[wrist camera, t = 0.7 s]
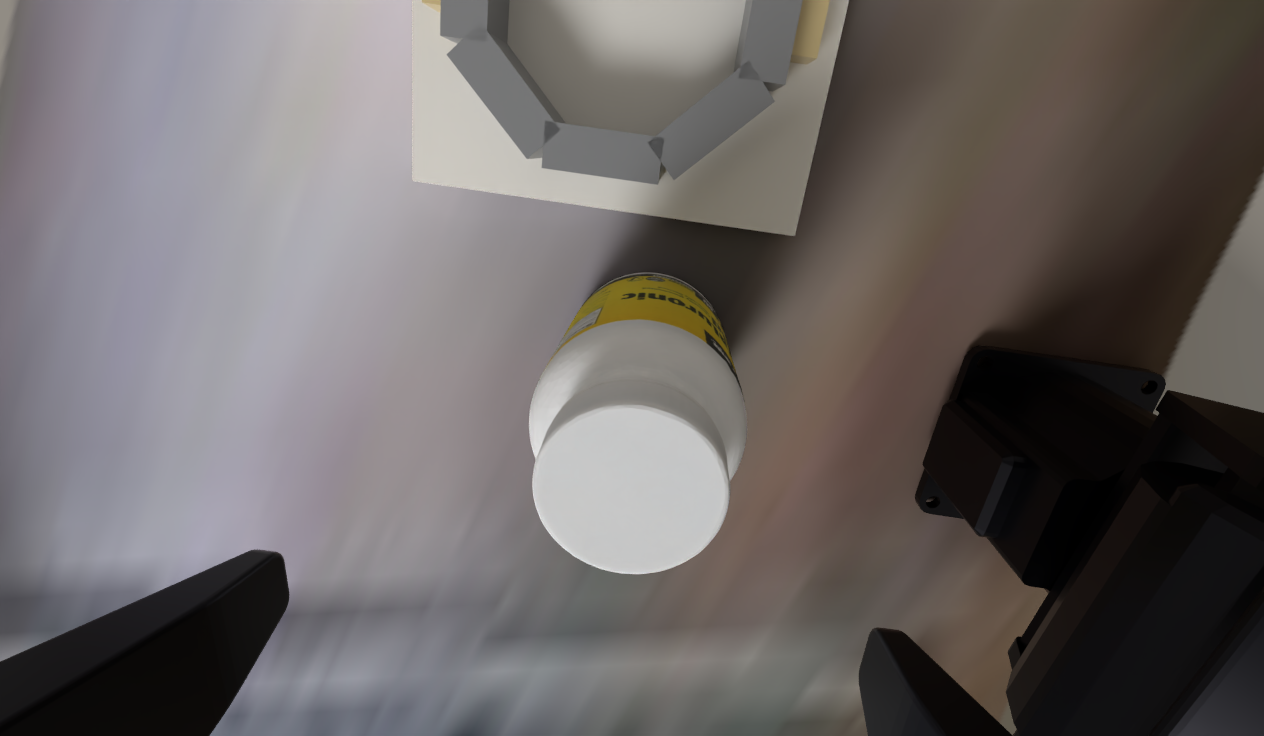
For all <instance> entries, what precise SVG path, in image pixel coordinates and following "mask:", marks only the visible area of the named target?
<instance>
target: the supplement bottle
mask: <svg viewBox="0 0 1264 736" xmlns="http://www.w3.org/2000/svg"><path fill="white" fill-rule="evenodd" d="M529 434H530V441H531V446H532V449H533V453H534V456H535V458H536V461H535V465H534V471H533V483H532V486H533V497H534V501H535V506H536V509H537V511H538V514H539V517H540V519H541V521H542V523H543V525H544V526H545V528H546V529H547V531H548V532H549V533H550V535H551V536H552V537H553V538H554V539H555V540H556V541H557V543H559V544H560V545H561V546H562V547H563V548H564V549H565V550H567V551H568V552H569V553H570V554H572V555H573V556H575V557H576V558H578V559H580V560H581V561H583V562H585V563H587V564H590V565H592V566H595V567H597V568H600V569H603V570H607V571H611V572H617V573H623V574H646V573H654V572H659V571H663V570H666V569H670V568H673V567H675V566H677V565H680V564H682V563H684V562H685V561H687V560H689V559H691V558H692V557H694V556H695V555H697V554H698V553H700V552H701V551H702V550H703V549H704V548H705V547H706V546H707V545H708V544H709V543H710V541H711V540H712V539H713V538H714V537H715V535H716V534H717V532H718V531H719V529H720V528H721V525H722V523H723V521H724V519H725V516H726V513H727V509H728V506H729V499H730V480H731V479H732V477H733V476H734V474H735V472H736V471H737V469H738V467H739V464H740V462H741V459H742V456H743V453H744V449H745V445H746V438H747V415H746V409H745V403H744V398H743V394H742V389H741V386H740V383H739V380H738V377H737V374H736V371H735V367H734V364H733V360H732V357H731V353H730V350H729V347H728V343H727V340H726V337H725V333H724V330H723V327H722V325H721V322H720V320H719V318H718V316H717V314H716V312H715V310H714V309H713V307H712V306H711V304H710V303H709V302H708V301H707V299H706V298H705V297H704V296H703V295H702V294H701V293H700V292H699V291H697V290H696V289H695V288H694V287H692V286H691V285H689V284H688V283H686V282H684V281H682V280H680V279H678V278H675V277H672V276H669V275H665V274H660V273H651V272H641V273H634V274H628V275H625V276H622V277H619V278H616V279H614V280H612V281H610V282H608V283H607V284H605V285H604V286H602V287H601V288H599V289H598V290H597V291H596V292H594V293H593V294H592V295H591V296H590V297H589V298H588V299H587V300H586V302H585V303H584V304H583V306H582V307H581V308H580V310H579V312H578V313H577V315H576V316H575V318H574V320H573V321H572V323H571V325H570V326H569V328H568V330H567V332H566V333H565V335H564V337H563V338H562V340H561V342H560V344H559V346H558V347H557V349H556V351H555V352H554V354H553V356H552V357H551V359H550V361H549V362H548V364H547V366H546V368H545V370H544V371H543V373H542V375H541V377H540V379H539V382H538V384H537V386H536V389H535V392H534V395H533V398H532V402H531V406H530V414H529Z"/></svg>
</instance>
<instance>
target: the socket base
mask: <svg viewBox="0 0 1264 736" xmlns="http://www.w3.org/2000/svg"><path fill="white" fill-rule="evenodd" d="M848 3H849V0H412V181H416V182H423V183H430V184H437V185H444V186H450V187H457V188H464V189H471V190H478V191H485V192H492V193H499V194H506V195H513V196H520V197H526V198H533V199H540V200H547V201H554V202H561V203H568V204H575V205H582V206H589V207H596V208H603V209H609V210H616V211H623V212H630V213H637V214H644V215H651V216H658V217H665V218H672V219H679V220H685V221H692V222H699V223H706V224H713V225H720V226H727V227H734V228H741V229H748V230H755V231H762V232H768V233H775V234H782V235H789V236H795V233H796V229H797V225H798V220H799V216H800V212H801V207H802V203H803V199H804V194H805V190H806V186H807V181H808V177H809V173H810V168H811V164H812V160H813V155H814V151H815V147H816V142H817V138H818V133H819V129H820V125H821V120H822V116H823V112H824V107H825V103H826V99H827V94H828V90H829V86H830V81H831V77H832V73H833V68H834V64H835V60H836V55H837V51H838V47H839V42H840V38H841V34H842V29H843V25H844V21H845V16H846V12H847V8H848Z"/></svg>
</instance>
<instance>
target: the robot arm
mask: <svg viewBox="0 0 1264 736" xmlns="http://www.w3.org/2000/svg"><path fill="white" fill-rule="evenodd" d="M985 356H987V361H986V362H985V364H983V365H982V366H977V362H978V361H979V359H980V358H982V357H985ZM1147 381H1148V385H1147V386H1146V387H1145V388H1143V389H1141V386H1142V385H1143V384H1144V383H1145V382H1147ZM1165 385H1166V383H1165V379H1164V378H1163V377H1162V376H1161V375H1159V374H1157V373H1155V372H1153V371H1150V370H1147V369H1141V368H1134V367H1127V366H1121V365H1114V364H1107V363H1100V362H1093V361H1086V360H1079V359H1073V358H1066V357H1059V356H1052V355H1045V354H1038V353H1031V352H1025V351H1018V350H1011V349H1004V348H997V347H990V346H977V347H974V348H972V349H971V350H970V351H968V352H967V354H966V356H965V358H964V360H963V363H962V366H961V369H960V372H959V374H958V377H957V380H956V383H955V386H954V388H953V391H952V394H951V397H950V399H949V401H948V402H947V403H945V404H944V405H943V407H942V410H941V413H940V416H939V419H938V421H937V424H936V427H935V430H934V433H933V435H932V438H931V441H930V444H929V447H928V450H927V452H926V455H925V458H924V461H923V466H924V468H925V469H924V472H923V475H922V477H921V480H920V483H919V486H918V489H917V491H916V494H915V500H916V503H917V504H918V506H919V507H920V509H921V510H923V511H924V512H926V513H929V514H935V515H942V516H948V517H955V518H962V519H965V520H966V521H967V523H968V524H969V525H970V527H971V528H972V529H973V530H974V532H975V533H976V534H977V535H978V536H980V537H987V539H988V540H989V541H990V542H991V544H992V545H993V546H994V547H995V549H996V550H997V551H998V552H999V553H1000V555H1001V556H1002V557H1003V558H1004V560H1005V561H1006V562H1007V563H1008V565H1009V566H1010V567H1011V568H1012V570H1013V571H1014V572H1015V573H1016V574H1017V576H1018V577H1019V578H1020V579H1021V581H1022V582H1023V583H1024V584H1025V585H1028V586H1032V587H1039V588H1044V589H1045V590H1046V591H1047V592H1048V595H1047V597H1046V598H1045V600H1044V602H1043V603H1042V605H1041V607H1040V608H1039V610H1038V611H1037V613H1036V615H1035V616H1034V618H1033V620H1032V621H1031V623H1030V624H1029V626H1028V628H1027V629H1026V631H1025V633H1024V634H1023V636H1022V637H1016V639H1015V640H1014V642H1013V644H1012V645H1011V647H1010V649H1009V650H1008V655H1009V659H1010V663H1011V667H1012V672H1011V675H1010V679H1009V683H1008V686H1007V690H1006V694H1007V698H1008V702H1009V706H1010V709H1011V714H1012V718H1013V722H1014V724H1015V726H1016V728H1017V730H1016V731H1015V733H1014V734H1013V736H1264V413H1262V412H1258V411H1254V410H1249V409H1245V408H1241V407H1237V406H1233V405H1228V404H1224V403H1220V402H1216V401H1211V400H1208V399H1204V398H1200V397H1195V396H1191V395H1187V394H1183V393H1179V392H1175V391H1170V390H1168V391H1167V392H1166V393H1165V395H1164V397H1163V398H1162V400H1161V401H1160V403H1159V405H1158V407H1157V408H1156V410H1157V411H1158V412H1159V415H1158V416H1157V415H1155V414H1153V411H1154V409H1155V407H1156V405H1157V403H1158V401H1159V399H1160V397H1161V395H1162V393H1163V391H1164V389H1165ZM932 496H936V497H935V499H934V500H933V501H931V502H926V501H927V499H928V498H930V497H932ZM288 602H289V588H288V582H287V575H286V569H285V562H284V558H283V557H282V555H281V554H280V553H278V552H273V551H265V550H251V551H248V552H246V553H244V554H241V555H239V556H237V557H235V558H232V559H230V560H228V561H226V562H223V563H221V564H219V565H217V566H214V567H212V568H210V569H208V570H205V571H203V572H201V573H199V574H196V575H194V576H192V577H190V578H187V579H185V580H183V581H181V582H178V583H176V584H174V585H172V586H169V587H167V588H165V589H163V590H160V591H158V592H156V593H154V594H151V595H149V596H147V597H145V598H142V599H140V600H138V601H136V602H133V603H131V604H129V605H127V606H124V607H122V608H120V609H118V610H115V611H113V612H111V613H109V614H106V615H104V616H102V617H100V618H97V619H95V620H93V621H91V622H88V623H86V624H84V625H82V626H79V627H77V628H75V629H73V630H70V631H68V632H66V633H64V634H61V635H59V636H57V637H55V638H52V639H50V640H48V641H46V642H43V643H41V644H39V645H37V646H35V647H32V648H30V649H28V650H26V651H23V652H21V653H19V654H17V655H14V656H12V657H10V658H8V659H5V660H3V661H1V662H0V736H209V735H210V734H211V733H212V731H213V730H214V728H215V727H216V725H217V724H218V723H219V721H220V720H221V718H222V717H223V715H224V714H225V712H226V711H227V709H228V708H229V706H230V705H231V703H232V701H233V700H234V698H235V696H236V695H237V693H238V692H239V690H240V688H241V687H242V685H243V683H244V681H245V680H246V678H247V676H248V674H249V673H250V671H251V669H252V668H253V666H254V664H255V662H256V661H257V659H258V657H259V655H260V654H261V652H262V650H263V649H264V647H265V645H266V643H267V642H268V640H269V638H270V637H271V635H272V633H273V631H274V630H275V628H276V626H277V624H278V623H279V621H280V619H281V618H282V616H283V614H284V612H285V610H286V608H287V605H288ZM859 687H860V693H861V698H862V704H863V710H864V715H865V721H866V727H867V732H868V736H1012V735H1011V734H1010V733H1009V732H1008V731H1007V730H1006V729H1005V728H1004V727H1003V726H1002V725H1001V724H1000V723H999V722H998V721H997V720H996V719H995V718H994V717H993V716H991V715H990V714H989V713H988V712H987V711H986V710H985V709H984V708H983V707H982V706H981V705H980V704H979V703H978V702H977V701H976V700H975V699H974V698H973V697H972V696H970V695H969V694H968V693H967V692H966V691H965V690H964V689H963V688H962V687H961V686H960V685H959V684H958V683H957V682H956V681H955V680H954V679H953V678H952V677H950V676H949V675H948V674H947V673H946V672H945V671H944V670H943V669H942V668H941V667H940V666H939V665H938V664H937V663H936V662H935V661H934V660H933V659H932V658H931V657H929V656H928V655H927V654H926V653H925V652H924V651H923V650H922V649H921V648H920V647H919V646H918V645H917V644H916V643H915V642H914V641H913V640H912V639H911V638H910V637H908V636H907V635H906V634H905V633H904V632H902V631H899V630H893V629H886V628H874V629H872V631H871V632H870V634H869V637H868V641H867V644H866V648H865V651H864V655H863V658H862V662H861V665H860V669H859Z"/></svg>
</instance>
